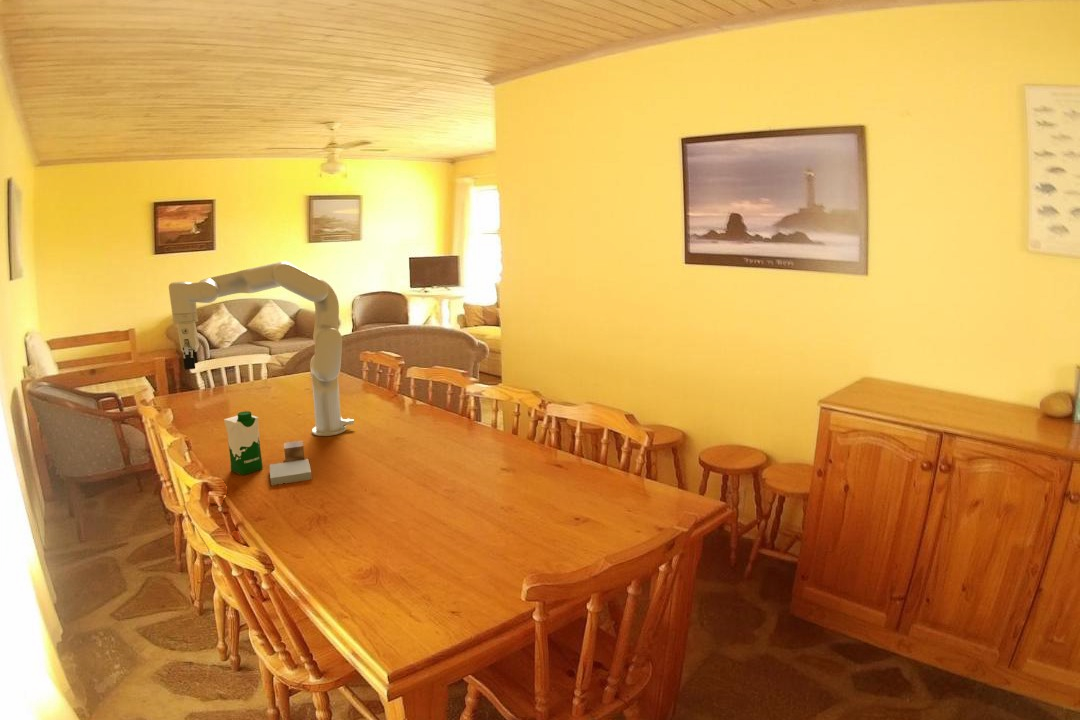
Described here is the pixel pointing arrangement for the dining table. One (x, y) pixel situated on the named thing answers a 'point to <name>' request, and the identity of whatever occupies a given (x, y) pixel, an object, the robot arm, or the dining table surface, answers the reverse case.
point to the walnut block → (294, 451)
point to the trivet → (290, 472)
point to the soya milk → (244, 443)
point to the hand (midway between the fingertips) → (191, 366)
